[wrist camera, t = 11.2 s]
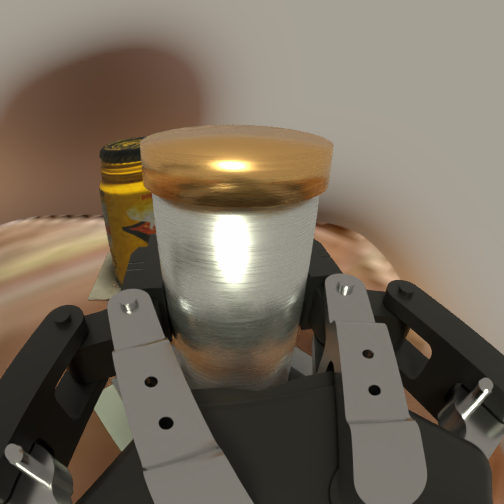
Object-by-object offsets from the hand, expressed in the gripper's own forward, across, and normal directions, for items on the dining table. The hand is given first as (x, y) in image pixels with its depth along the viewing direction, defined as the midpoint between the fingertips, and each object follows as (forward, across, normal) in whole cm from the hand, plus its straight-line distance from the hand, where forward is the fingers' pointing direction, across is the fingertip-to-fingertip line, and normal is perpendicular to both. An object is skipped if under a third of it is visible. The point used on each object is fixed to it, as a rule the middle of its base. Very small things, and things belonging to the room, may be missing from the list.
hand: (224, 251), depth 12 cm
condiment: (+13, +7, +10) cm, 17 cm away
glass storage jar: (-3, 0, +7) cm, 8 cm away
